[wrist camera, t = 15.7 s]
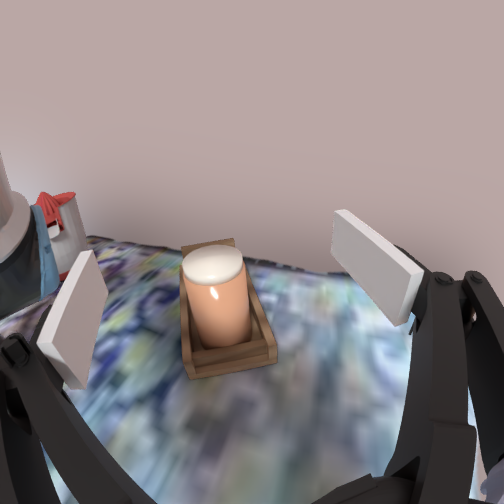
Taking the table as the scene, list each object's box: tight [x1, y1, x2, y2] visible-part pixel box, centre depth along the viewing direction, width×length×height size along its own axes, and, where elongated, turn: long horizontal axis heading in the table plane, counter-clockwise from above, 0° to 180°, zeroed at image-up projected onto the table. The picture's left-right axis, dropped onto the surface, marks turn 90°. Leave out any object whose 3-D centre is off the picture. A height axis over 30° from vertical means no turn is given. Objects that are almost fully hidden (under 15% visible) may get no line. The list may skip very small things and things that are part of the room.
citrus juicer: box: [34, 192, 87, 281], centre depth 51 cm, size 16×17×20 cm
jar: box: [182, 245, 252, 350], centre depth 33 cm, size 7×7×12 cm
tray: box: [180, 238, 277, 380], centre depth 40 cm, size 22×11×7 cm, turn 13°
